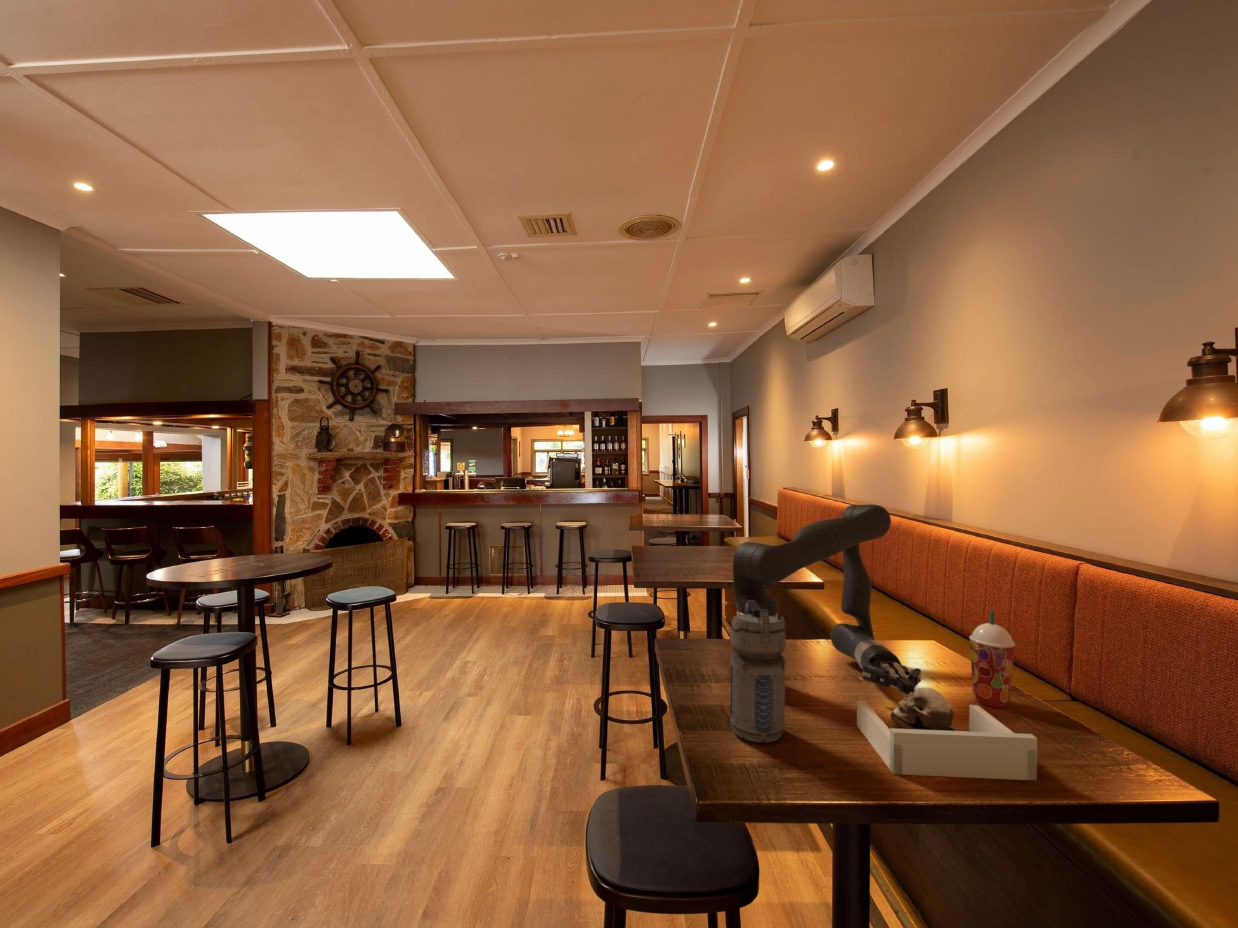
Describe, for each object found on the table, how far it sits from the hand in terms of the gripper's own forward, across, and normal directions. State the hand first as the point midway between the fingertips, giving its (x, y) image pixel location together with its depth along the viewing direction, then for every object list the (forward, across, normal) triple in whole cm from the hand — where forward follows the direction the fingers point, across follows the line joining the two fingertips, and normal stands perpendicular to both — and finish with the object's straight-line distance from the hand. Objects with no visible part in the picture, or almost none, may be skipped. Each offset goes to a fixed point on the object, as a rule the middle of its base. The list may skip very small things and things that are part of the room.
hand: (909, 689), depth 115 cm
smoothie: (-10, +22, +6) cm, 25 cm away
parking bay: (+11, 0, +6) cm, 13 cm away
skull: (+2, +2, +6) cm, 7 cm away
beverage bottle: (+7, -32, +6) cm, 34 cm away
